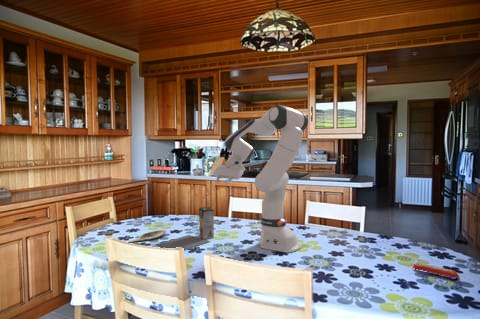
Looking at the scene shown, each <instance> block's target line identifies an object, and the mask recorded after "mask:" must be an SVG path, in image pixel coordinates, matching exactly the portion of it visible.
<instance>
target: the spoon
mask: <svg viewBox="0 0 480 319" xmlns="http://www.w3.org/2000/svg"><path fill="white" fill-rule="evenodd" d="M166 233H167V231H166V230H165V229H161V230H160V229H159V230H153V231H149V232H146V233H143V234H142V235H140V236H139V237H137V238H135V239H132V240H129V241H128V242H130V243H135V242H140V241H150V240H153V239H156V238H159V237H162V236H163V235H165V234H166ZM130 243H129V244H130Z"/></svg>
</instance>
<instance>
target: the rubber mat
mask: <svg viewBox="0 0 480 319" xmlns="http://www.w3.org/2000/svg"><path fill="white" fill-rule="evenodd" d="M210 242H211V240H208V239H203V238H202V237H201V238H200V237H198V236H194V235H191V234H187V235H184V236H180V237H176V238H173V239H169V240H166V241H163V242H159V243H156V244H155V245H156V246H158V247H160V248H162V247H165V248H176V247H182V248H184V251H187V250H191V249H193V248H196V247H199V246H202V245H205V244H209V243H210ZM165 248H164V249H165Z"/></svg>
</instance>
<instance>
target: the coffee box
mask: <svg viewBox="0 0 480 319" xmlns="http://www.w3.org/2000/svg"><path fill="white" fill-rule="evenodd" d="M198 212H199V214H198V217H199V218H198V220H199V221H198V222H199V229H198V230H199V231H198V232H199V236H200V237H201V239H204V240H208V239H214V237H215V236H214V234H215V233H214V230H215V228H214V226H215V225H214V224H215V222H214V209H213V208H212V207H210V206H205V207H204V206H203V207H199V208H198Z"/></svg>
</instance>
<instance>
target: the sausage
mask: <svg viewBox="0 0 480 319" xmlns="http://www.w3.org/2000/svg"><path fill="white" fill-rule="evenodd" d="M413 268H415V269H418V270H423V271H427V272H432V273H436V274H440V275H445V276H450V277H459V278H460V274H458V273H457V271H455V270H452V269H448V268H443V267H440V266H439V267H438V266H435V265H429V264H426V263H421V262H418V263H414V264H413V265H412V269H413ZM415 269H414V270H415Z"/></svg>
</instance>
